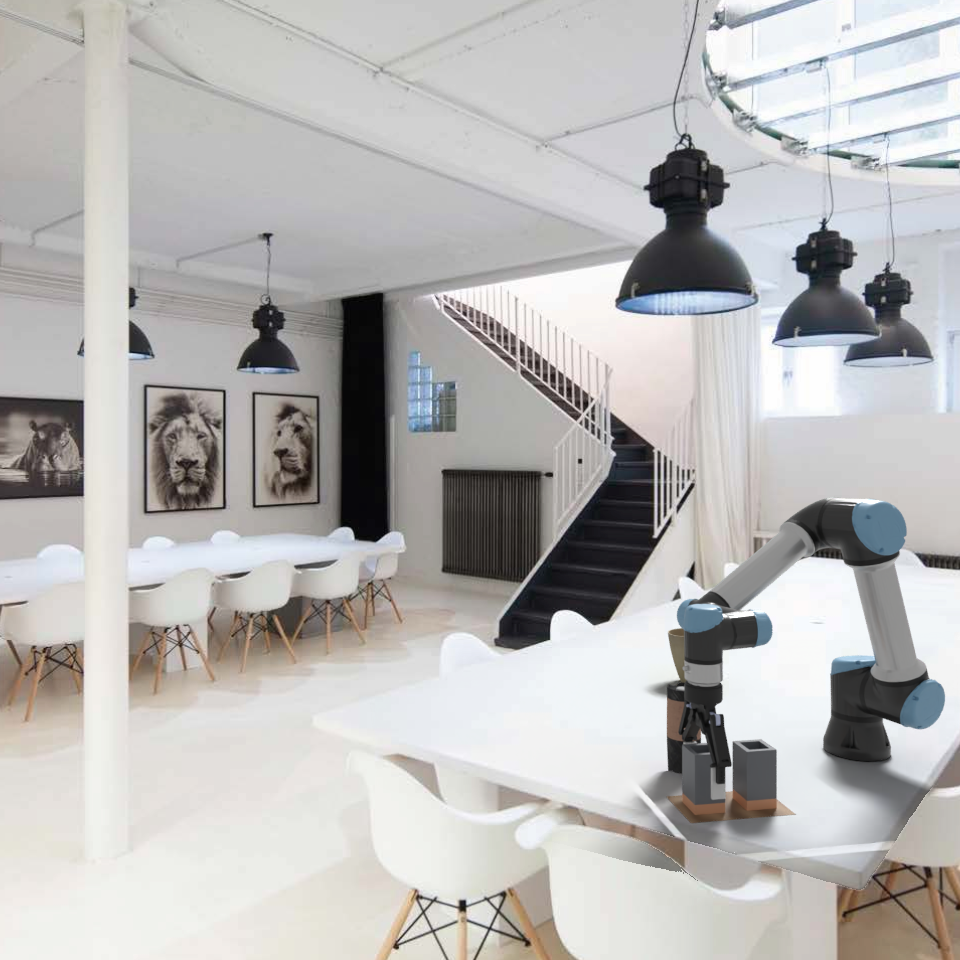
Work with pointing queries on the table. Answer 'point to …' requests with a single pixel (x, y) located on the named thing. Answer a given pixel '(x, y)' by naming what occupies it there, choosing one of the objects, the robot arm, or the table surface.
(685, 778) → the banded sleeve
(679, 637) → the plant pot
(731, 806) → the pinboard
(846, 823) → the table surface
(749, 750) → the seated sleeve
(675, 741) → the travel mug
